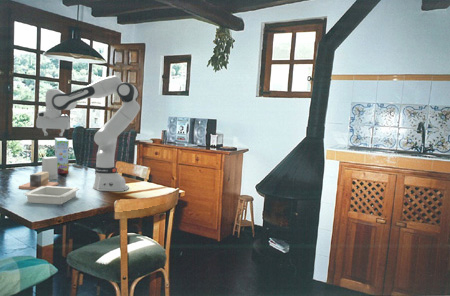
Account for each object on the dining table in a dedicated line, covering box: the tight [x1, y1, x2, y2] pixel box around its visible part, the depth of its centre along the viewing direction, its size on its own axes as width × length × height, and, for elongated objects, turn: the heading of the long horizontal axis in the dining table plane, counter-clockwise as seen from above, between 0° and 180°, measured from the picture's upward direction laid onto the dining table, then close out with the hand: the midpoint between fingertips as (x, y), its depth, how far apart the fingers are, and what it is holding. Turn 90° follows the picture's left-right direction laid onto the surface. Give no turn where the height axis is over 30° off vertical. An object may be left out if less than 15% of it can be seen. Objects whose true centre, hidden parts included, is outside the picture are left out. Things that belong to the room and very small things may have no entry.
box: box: [29, 171, 50, 187], centre depth 200 cm, size 5×12×7 cm, turn 2°
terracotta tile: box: [18, 181, 59, 191], centre depth 200 cm, size 16×16×2 cm
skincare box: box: [41, 156, 58, 181], centre depth 222 cm, size 8×7×16 cm
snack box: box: [54, 137, 70, 175], centre depth 252 cm, size 22×9×26 cm, turn 33°
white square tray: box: [23, 185, 80, 205], centre depth 176 cm, size 22×22×4 cm
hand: (53, 135), depth 206 cm, fingers open, 8 cm apart
